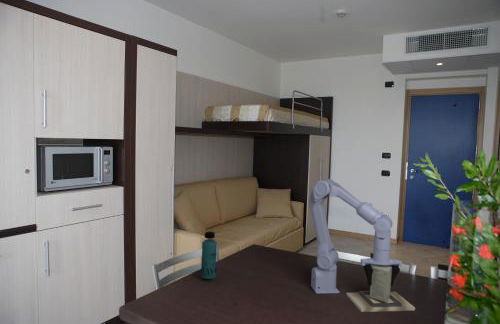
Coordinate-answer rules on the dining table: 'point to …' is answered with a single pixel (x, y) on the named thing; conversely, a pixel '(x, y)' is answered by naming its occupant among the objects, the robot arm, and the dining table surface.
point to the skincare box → (381, 282)
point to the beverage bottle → (209, 256)
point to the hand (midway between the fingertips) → (380, 284)
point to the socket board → (379, 302)
